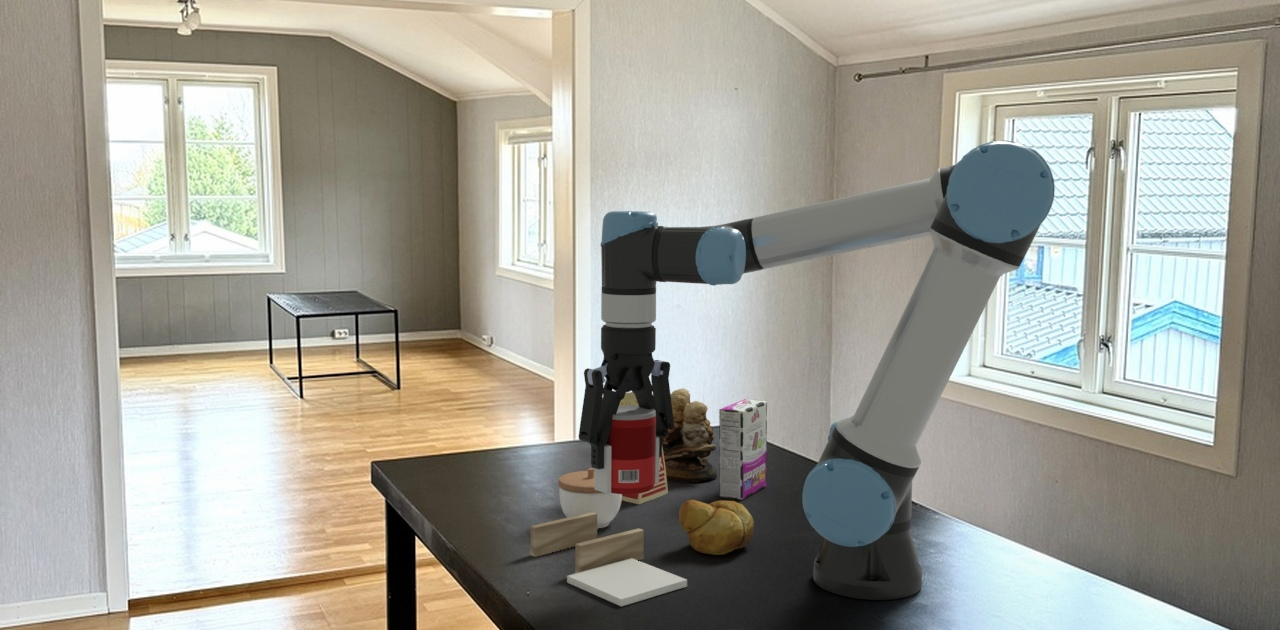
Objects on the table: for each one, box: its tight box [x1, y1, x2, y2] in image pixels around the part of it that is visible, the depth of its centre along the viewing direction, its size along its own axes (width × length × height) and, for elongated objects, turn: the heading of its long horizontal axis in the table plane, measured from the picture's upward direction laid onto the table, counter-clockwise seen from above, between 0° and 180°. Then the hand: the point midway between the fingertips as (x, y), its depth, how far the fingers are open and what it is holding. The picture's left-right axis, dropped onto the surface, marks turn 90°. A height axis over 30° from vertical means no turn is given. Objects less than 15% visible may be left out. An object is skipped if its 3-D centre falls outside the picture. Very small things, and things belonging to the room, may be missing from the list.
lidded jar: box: [557, 467, 623, 530], centre depth 188 cm, size 11×11×9 cm
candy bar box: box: [718, 398, 768, 501], centre depth 208 cm, size 11×5×16 cm, turn 150°
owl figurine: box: [662, 387, 718, 484], centre depth 222 cm, size 18×12×17 cm, turn 33°
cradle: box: [529, 512, 645, 574], centre depth 171 cm, size 12×12×4 cm
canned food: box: [599, 405, 656, 494], centre depth 158 cm, size 8×8×11 cm
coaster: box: [566, 558, 688, 607], centre depth 160 cm, size 12×12×1 cm
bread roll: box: [678, 498, 755, 556], centre depth 177 cm, size 13×10×8 cm
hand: (627, 485), depth 158 cm, fingers closed on canned food, 8 cm apart
